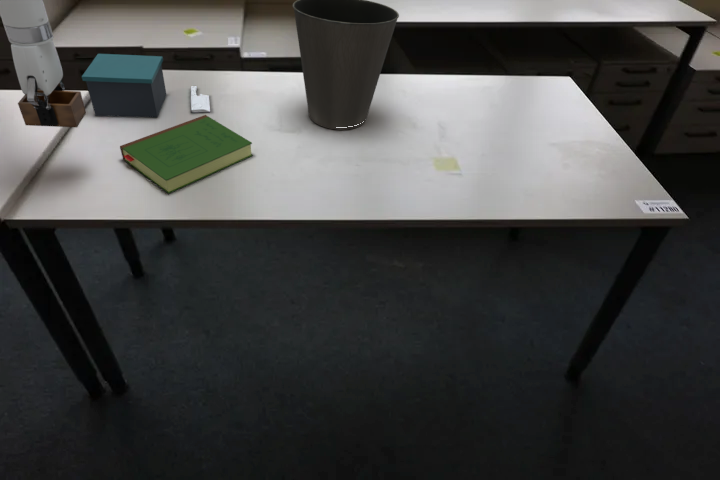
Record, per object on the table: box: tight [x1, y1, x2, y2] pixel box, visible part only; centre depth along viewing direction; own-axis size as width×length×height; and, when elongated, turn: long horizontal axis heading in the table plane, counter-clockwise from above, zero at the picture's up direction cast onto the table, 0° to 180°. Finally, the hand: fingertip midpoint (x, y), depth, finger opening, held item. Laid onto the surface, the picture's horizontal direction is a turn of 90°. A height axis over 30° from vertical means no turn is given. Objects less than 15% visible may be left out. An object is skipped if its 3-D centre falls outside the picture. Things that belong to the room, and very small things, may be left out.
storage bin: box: [81, 53, 167, 119], centre depth 141 cm, size 17×15×11 cm
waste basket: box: [292, 0, 400, 131], centre depth 140 cm, size 27×20×30 cm
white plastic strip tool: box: [190, 85, 211, 113], centre depth 149 cm, size 5×15×1 cm, turn 14°
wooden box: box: [17, 90, 87, 128], centre depth 108 cm, size 10×6×5 cm, turn 96°
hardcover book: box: [119, 114, 254, 194], centre depth 126 cm, size 25×19×4 cm
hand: (55, 115), depth 109 cm, fingers closed on wooden box, 6 cm apart
